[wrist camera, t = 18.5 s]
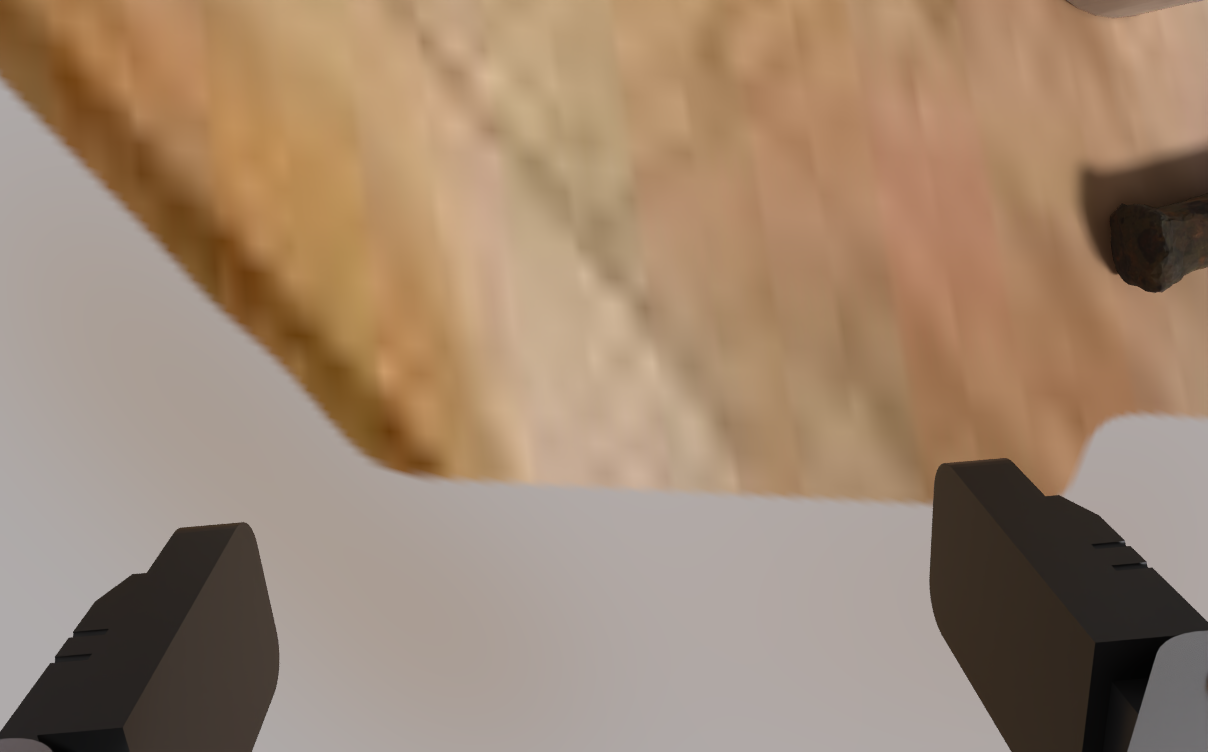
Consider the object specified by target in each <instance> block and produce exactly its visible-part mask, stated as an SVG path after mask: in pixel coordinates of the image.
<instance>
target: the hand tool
mask: <svg viewBox="0 0 1208 752" xmlns="http://www.w3.org/2000/svg"><path fill="white" fill-rule="evenodd" d="M1110 226H1111V247H1112V254H1113V260H1114V263H1115V265H1116V269H1117V272H1118V273H1119V275H1120V277H1121V278H1122V279H1123V281H1125V282H1126V283H1127V284H1129V285H1134V286H1138V287H1140V288H1142V289H1143V290H1145V291H1147V292H1154V293H1156V292H1163V291H1165V290H1166V289H1167V288H1169V287H1171V286H1172V284H1175V283H1177V282H1179V281H1180V280H1181V279H1182V278H1183V276H1184V275H1186V274H1188V273H1190V272H1192V271H1195V270H1198V269H1203V268H1206V267H1208V193H1206V194H1204V195H1202V196H1199V197H1195V198H1190V199H1188V200H1186V201H1184V202H1180V203H1176V204H1171V205H1168V206H1164V207H1158V208H1153V207H1150V206H1147V205H1140V204H1133V205H1125V204H1121V205H1120V206H1119V207H1118V208H1117V209H1116V211H1115V212H1114V213H1113V214H1112V216H1111V217H1110Z"/></svg>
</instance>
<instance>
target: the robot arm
mask: <svg viewBox="0 0 1208 752" xmlns="http://www.w3.org/2000/svg"><path fill="white" fill-rule="evenodd" d="M1067 1H1068V2H1070V3H1071V4H1072V5H1074V6H1075V7H1076V8H1078V9H1081V10H1083V11H1086V12H1088V13H1090V14H1093V15H1096V16H1103V17H1110V18H1119V17H1129V16H1135V15H1140V14H1144V13H1149V12H1153V11H1157V10H1162V9H1166V8H1170V7H1175V6H1179V5H1183V4H1188V3H1193V2H1198V1H1202V0H1067ZM930 596H931V603H932V608H933V612H934V616H935V619H936V622H937V625H938V628H939V630H940V632H941V634H942V636H943V638H944V639H945V641H946V643H947V644H948V646H949V648H950V649H951V651H952V653H953V654H954V656H955V658H956V659H957V661H958V663H959V664H960V666H961V668H962V669H963V671H964V673H965V675H966V676H967V678H968V680H969V681H970V683H971V685H972V686H973V688H974V690H975V691H976V693H977V695H978V696H979V698H980V699H981V701H982V703H983V705H984V706H985V708H986V710H987V711H988V713H989V715H990V716H991V718H992V720H993V721H994V723H995V725H996V727H997V728H998V730H999V732H1000V733H1001V735H1002V737H1003V738H1004V740H1005V742H1006V743H1007V745H1008V747H1009V748H1010V750H1011V751H1012V752H1208V622H1207V621H1206V620H1205V619H1204V618H1203V617H1202V616H1201V615H1200V614H1199V613H1198V612H1197V611H1196V610H1195V609H1194V608H1193V607H1192V606H1191V605H1190V604H1189V603H1188V602H1187V601H1186V600H1185V599H1184V598H1183V597H1182V596H1181V595H1180V594H1179V593H1177V591H1176V590H1175V589H1174V588H1173V587H1172V586H1170V585H1169V584H1168V583H1167V582H1166V581H1165V580H1164V579H1163V578H1162V577H1161V576H1160V575H1159V574H1158V573H1157V572H1156V571H1155V570H1154V569H1153V568H1148V567H1147V562H1146V561H1145V560H1144V559H1143V558H1142V557H1141V556H1140V555H1139V554H1138V553H1137V552H1136V551H1135V550H1134V549H1133V548H1132V547H1131V546H1126V545H1125V541H1124V539H1123V538H1122V537H1121V536H1119V535H1118V534H1117V533H1116V532H1115V531H1114V530H1113V529H1112V528H1111V527H1110V526H1109V525H1108V524H1107V523H1106V522H1105V521H1104V520H1103V519H1102V518H1101V517H1100V516H1099V515H1097V514H1095V513H1093V512H1091V511H1089V510H1087V509H1085V508H1083V507H1081V506H1079V505H1077V504H1075V503H1073V502H1071V501H1069V500H1067V499H1065V498H1063V497H1061V496H1060V495H1055V496H1044V494H1043V493H1042V492H1041V491H1040V490H1039V489H1038V488H1037V487H1036V486H1035V485H1034V484H1033V483H1032V482H1031V481H1030V480H1029V479H1028V478H1027V477H1026V476H1025V475H1024V474H1023V472H1022V471H1021V470H1020V469H1019V468H1018V467H1017V466H1016V465H1015V464H1014V463H1013V462H1012V461H1011V460H1009V459H1007V458H1000V459H988V460H977V461H965V462H954V463H943V464H941V465H940V466H939V468H938V470H937V473H936V476H935V483H934V499H933V519H932V539H931V558H930ZM73 633H74V634H73V638H68V640H67V641H66V642H65V644H64V645H63V647H62V648H61V649H60V651H59V652H58V654H57V655H56V656H55V663H50V664H49V666H48V667H47V668H46V670H45V671H44V673H43V674H42V675H41V677H40V678H39V679H38V681H37V682H36V684H35V685H34V686H33V688H32V689H31V690H30V692H29V693H28V694H27V696H26V697H25V699H24V700H23V701H22V703H21V704H20V706H19V707H18V709H17V710H16V711H15V712H14V714H13V715H12V716H11V718H10V719H9V721H8V722H7V723H6V725H5V726H4V727H3V729H2V730H1V731H0V752H252V750H253V747H254V744H255V742H256V739H257V737H258V734H259V731H260V729H261V726H262V723H263V721H264V718H265V716H266V713H267V711H268V708H269V705H270V703H271V700H272V698H273V695H274V692H275V689H276V685H277V680H278V673H279V645H278V637H277V632H276V627H275V623H274V618H273V613H272V609H271V605H270V600H269V596H268V591H267V586H266V582H265V578H264V573H263V568H262V564H261V559H260V555H259V550H258V546H257V542H256V538H255V535H254V533H253V531H252V529H251V527H250V526H249V525H248V524H247V523H244V522H242V523H231V524H220V525H219V524H218V525H207V526H196V527H184V528H179V529H177V530H176V531H175V532H174V534H173V535H172V536H171V538H170V539H169V541H168V542H167V544H166V545H165V547H164V548H163V550H162V551H161V553H160V554H159V556H158V557H157V559H156V560H155V562H154V563H153V564H152V566H151V567H150V569H149V570H148V572H147V573H142V574H132V575H131V576H129V577H128V578H127V579H125V580H124V581H123V582H121V583H120V584H119V585H118V586H116V587H114V588H113V589H112V590H110V591H109V592H108V593H106V594H105V595H104V596H102V597H101V598H99V599H98V600H97V601H95V603H94V604H93V605H92V607H91V608H90V610H89V611H88V612H87V614H86V615H85V616H84V618H83V619H82V620H81V622H80V623H79V624H78V626H77V627H76V629H75V630H74V631H73Z"/></svg>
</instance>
